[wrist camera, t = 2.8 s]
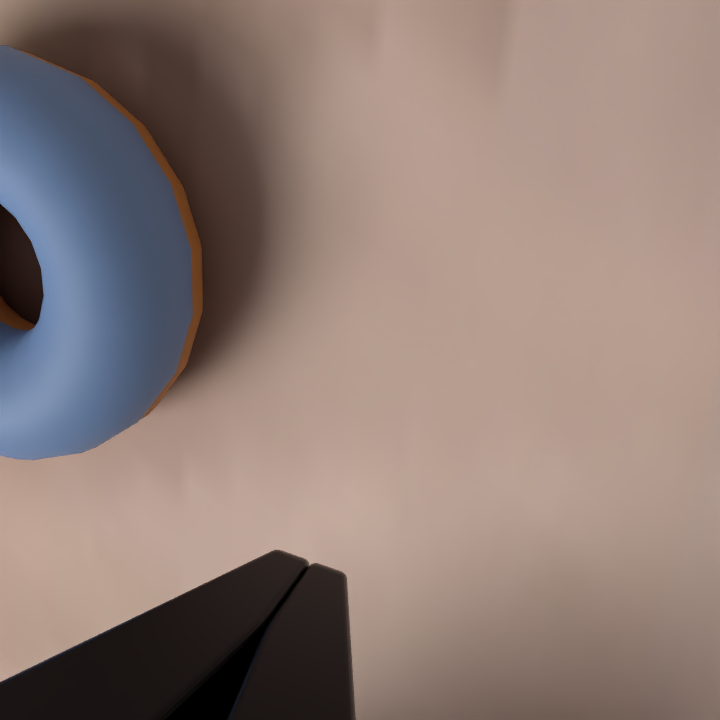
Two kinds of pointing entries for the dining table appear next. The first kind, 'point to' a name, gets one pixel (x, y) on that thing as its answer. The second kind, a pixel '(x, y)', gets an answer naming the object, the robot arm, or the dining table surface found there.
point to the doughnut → (90, 263)
